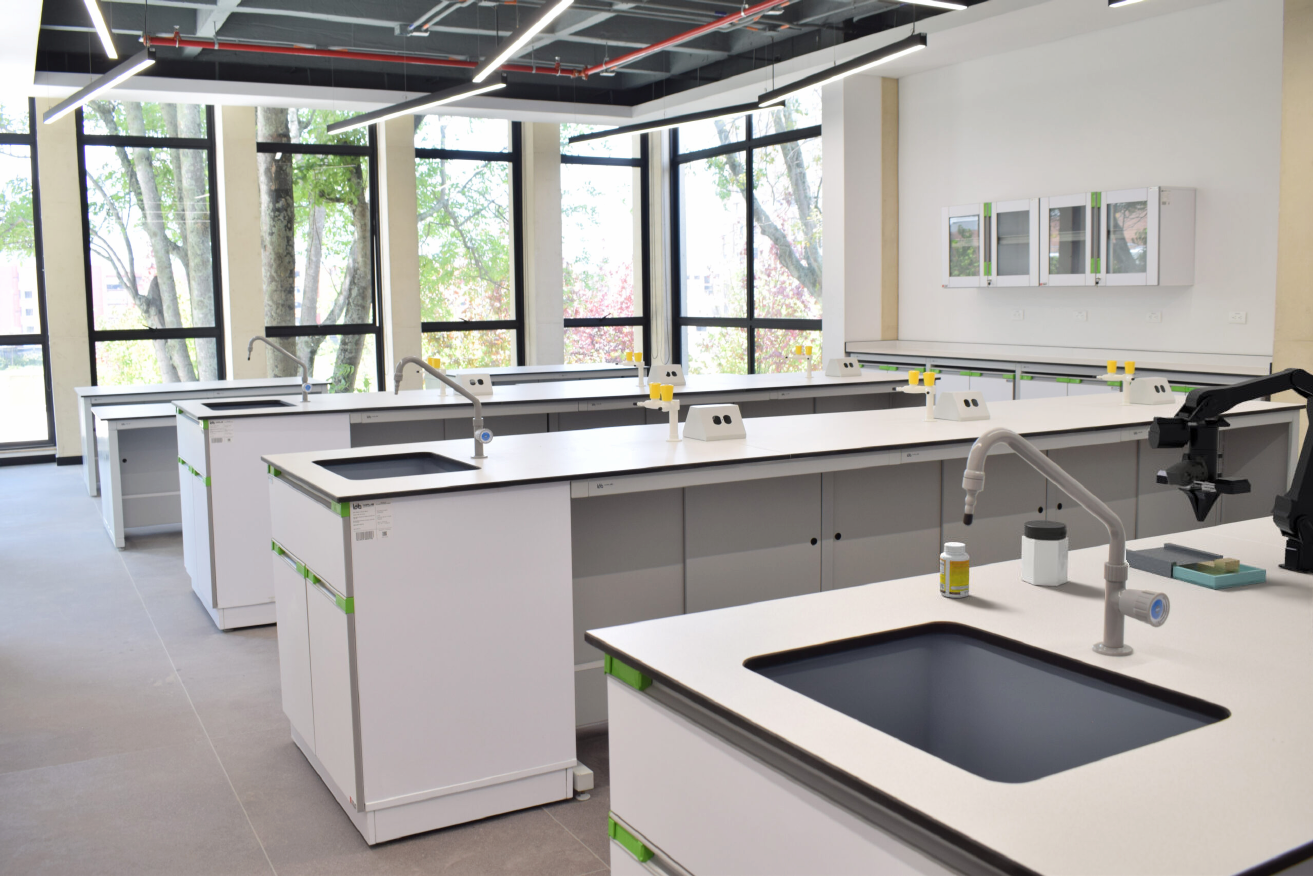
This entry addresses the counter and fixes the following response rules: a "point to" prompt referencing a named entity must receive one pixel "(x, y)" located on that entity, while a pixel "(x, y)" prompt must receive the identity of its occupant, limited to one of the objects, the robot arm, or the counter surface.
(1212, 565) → the tan square block
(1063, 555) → the jar
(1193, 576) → the tray
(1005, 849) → the counter surface
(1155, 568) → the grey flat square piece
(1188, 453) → the robot arm
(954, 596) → the supplement bottle
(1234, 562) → the chip
